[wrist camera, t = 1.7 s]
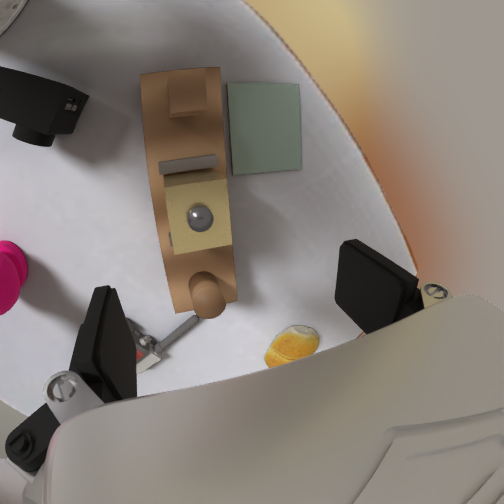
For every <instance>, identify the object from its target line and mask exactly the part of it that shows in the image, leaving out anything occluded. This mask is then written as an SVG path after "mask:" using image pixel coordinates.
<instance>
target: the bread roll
mask: <svg viewBox="0 0 504 504" xmlns="http://www.w3.org/2000/svg"><path fill="white" fill-rule="evenodd" d="M318 344H319V338H318V336H317V334H316V332H315V331H314V330H313V329H312V328H309V327H305V326H300V325H294V326H291V327H288V328H287V329H285V330H284V331H282V332H281V333H279V334H278V335H277V336H276V337H275V339H274V340H273V342H272V344H271V346H270V347H269V348H268V350H267V352H266V354H265V357H264V359H265V362H266V364H267V366H268V367H269V368H271V367H275V366H278V365H281V364H285V363H288V362H291V361H294V360H297V359H301V358H304V357H307V356H310V355H312V354H313V353H314V352H315V351H316V350H317V348H318Z"/></svg>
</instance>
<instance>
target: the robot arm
mask: <svg viewBox="0 0 504 504" xmlns="http://www.w3.org/2000/svg"><path fill="white" fill-rule="evenodd" d="M26 2H27V0H0V35H1V34H2V33H3V32H4V31H5V30H6V29H7V28H8V27H9V26H10V24H11V23H12V22H13V21H14V20H15V18H16V17H17V16H18V14H19V13H20V12H21V10H22V9H23V7H24V5H25V4H26ZM418 281H419V279H418V278H417V277H415V276H414V275H412V274H411V273H409V272H408V271H406V270H405V269H403V268H402V267H400V266H399V265H397V264H395V263H394V262H392V261H391V260H389V259H388V258H386V257H385V256H383V255H382V254H380V253H378V252H377V251H375V250H374V249H372V248H370V247H369V246H367V245H366V244H364V243H362V242H361V241H359V240H357V239H352V240H347V241H344V242H343V244H342V245H341V246H340V251H339V262H338V272H337V281H336V290H335V301H336V303H337V305H338V306H339V307H340V308H341V309H342V310H343V311H344V312H345V313H346V314H347V315H348V316H349V317H350V318H351V319H352V320H353V321H354V322H355V323H356V324H357V325H358V326H359V327H360V328H361V329H362V330H363V331H364V332H365V333H366V335H364V336H361V337H359V338H356V339H354V340H351V341H348V342H346V343H343V344H341V345H338V346H335V347H332V348H330V349H327V350H324V351H321V352H318V353H315V354H313V355H310V356H307V357H304V358H301V359H297V360H294V361H291V362H288V363H285V364H281V365H278V366H275V367H271V368H268V369H264V370H261V371H257V372H254V373H250V374H246V375H242V376H238V377H234V378H230V379H226V380H222V381H218V382H213V383H209V384H204V385H200V386H195V387H190V388H185V389H179V390H174V391H168V392H162V393H157V394H152V395H146V396H141V397H137V374H136V355H137V350H136V344H135V341H134V339H133V336H132V333H131V331H130V328H129V326H128V323H127V320H126V318H125V315H124V312H123V309H122V306H121V303H120V300H119V297H118V294H117V291H116V289H115V288H112V289H111V287H110V286H109V285H107V286H102V287H96V288H95V289H94V292H93V295H92V298H91V302H90V305H89V308H88V311H87V315H86V318H85V321H84V324H81V326H80V329H79V332H78V336H77V339H76V343H75V347H74V351H73V355H72V359H71V363H70V367H69V371H61V372H58V373H56V374H54V375H53V376H51V377H50V378H49V379H48V380H47V382H46V383H45V386H44V389H43V396H44V399H45V401H46V403H45V404H44V405H42V406H41V407H40V408H39V409H38V410H37V411H35V412H34V413H33V414H32V415H31V416H29V417H28V418H27V419H26V420H25V421H24V422H22V423H21V424H20V425H19V426H18V427H16V429H14V430H13V431H12V432H11V433H10V434H9V436H8V438H7V440H6V444H5V450H6V454H7V458H6V460H4V459H3V458H1V460H0V504H504V312H503V311H501V310H500V309H499V308H497V307H496V306H494V305H493V304H492V303H490V302H488V301H487V300H485V299H483V298H481V297H479V296H471V295H466V296H457V297H452V294H451V292H450V290H449V289H448V288H447V287H446V286H444V285H442V284H439V283H436V282H425V283H423V284H422V285H421V287H420V290H419V289H418V288H417V285H418Z"/></svg>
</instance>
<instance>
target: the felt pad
mask: <svg viewBox="0 0 504 504" xmlns="http://www.w3.org/2000/svg"><path fill="white" fill-rule="evenodd" d="M227 96H228V113H229V129H230V145H231V160H232V174H233V175H242V174H251V173H262V172H273V171H285V170H299V169H302V157H301V121H300V98H299V84H284V83H227Z"/></svg>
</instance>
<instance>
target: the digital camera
mask: <svg viewBox="0 0 504 504" xmlns="http://www.w3.org/2000/svg"><path fill="white" fill-rule="evenodd" d="M88 98H89V96H88V95H86V94H85V93H83V92H81V91H79V90H77V89H75V88H73V87H71V86H69V85H65V84H62V83H59V82H56V81H53V80H49V79H46V78H43V77H39V76H36V75H32V74H28V73H25V72H21V71H17V70H13V69H9V68H5V67H0V118H1V119H4V120H7V121H9V122H12V123H15V124H16V126H15V129H14V132H13V134H12V136H13V137H14V138H16V139H18V140H20V141H23V142H26V143H29V144H33V145H38V146H44V147H50V146H52V143H53V140H54V138H55V135H56V134H72V133H73V130H74V128H75V126H76V123H77V121H78V119H79V117H80V114H81V112H82V110H83V108H84V106H85V104H86V102H87V100H88Z"/></svg>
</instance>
